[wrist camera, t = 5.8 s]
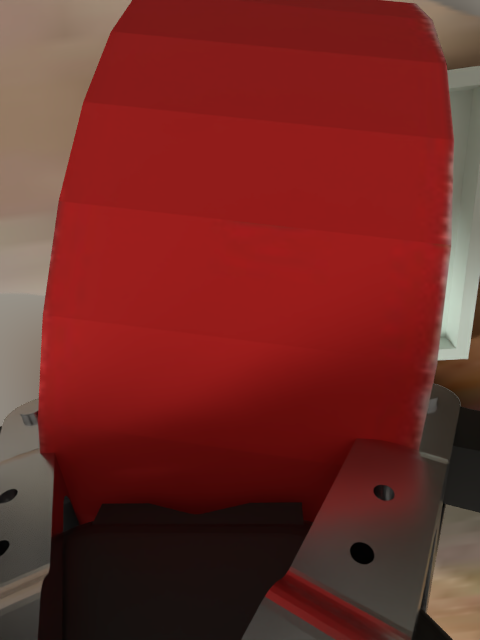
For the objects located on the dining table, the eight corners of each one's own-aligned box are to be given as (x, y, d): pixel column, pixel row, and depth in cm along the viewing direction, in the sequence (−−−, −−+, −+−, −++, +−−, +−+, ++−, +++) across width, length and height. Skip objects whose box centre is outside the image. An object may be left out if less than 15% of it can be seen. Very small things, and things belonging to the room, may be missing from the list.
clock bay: (351, 348, 41) (357, 364, 38) (352, 89, 32) (361, 82, 28) (452, 342, 40) (467, 358, 36) (485, 71, 30) (510, 61, 27)
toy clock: (227, 70, 21) (-120, -594, 2) (334, 82, 21) (833, -549, 2) (203, 378, 29) (79, 763, 10) (279, 388, 29) (289, 800, 10)
